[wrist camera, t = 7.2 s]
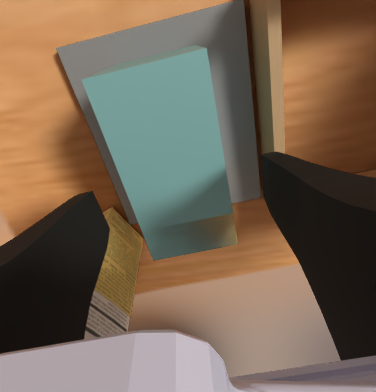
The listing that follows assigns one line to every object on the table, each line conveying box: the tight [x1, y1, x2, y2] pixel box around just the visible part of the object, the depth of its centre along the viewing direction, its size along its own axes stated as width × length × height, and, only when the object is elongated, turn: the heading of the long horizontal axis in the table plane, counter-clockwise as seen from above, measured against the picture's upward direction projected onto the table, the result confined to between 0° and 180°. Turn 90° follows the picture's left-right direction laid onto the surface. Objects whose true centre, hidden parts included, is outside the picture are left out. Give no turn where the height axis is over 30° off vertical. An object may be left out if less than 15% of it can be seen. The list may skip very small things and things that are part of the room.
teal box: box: [82, 45, 238, 261], centre depth 14 cm, size 4×9×6 cm, turn 12°
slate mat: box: [56, 0, 261, 225], centre depth 17 cm, size 10×12×1 cm
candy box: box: [84, 207, 144, 339], centre depth 15 cm, size 9×4×15 cm, turn 124°
